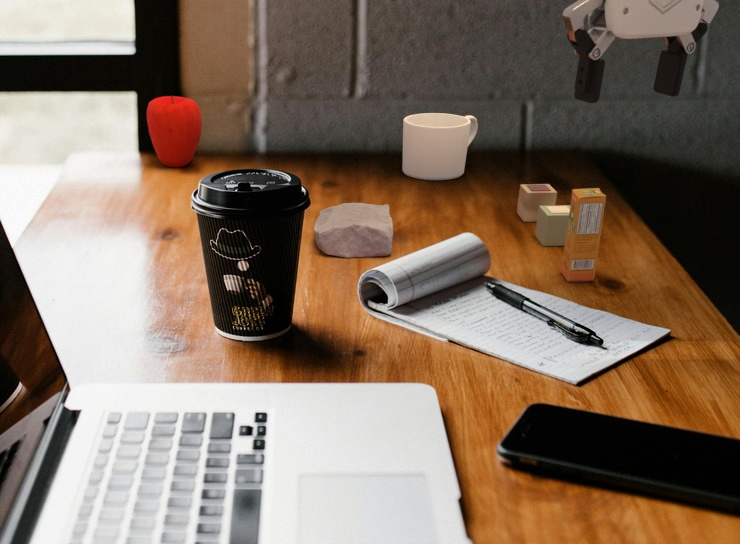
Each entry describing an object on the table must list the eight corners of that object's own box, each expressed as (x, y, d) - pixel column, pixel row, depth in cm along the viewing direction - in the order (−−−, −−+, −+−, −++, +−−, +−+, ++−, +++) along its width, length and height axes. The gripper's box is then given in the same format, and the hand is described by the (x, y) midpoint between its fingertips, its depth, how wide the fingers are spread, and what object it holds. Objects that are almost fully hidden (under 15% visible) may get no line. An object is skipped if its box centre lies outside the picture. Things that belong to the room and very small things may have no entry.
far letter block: (544, 212, 121) (549, 183, 118) (552, 221, 117) (557, 191, 115) (516, 212, 120) (520, 183, 118) (523, 221, 117) (527, 192, 115)
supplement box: (557, 271, 101) (571, 187, 96) (586, 271, 101) (602, 187, 96) (564, 282, 99) (578, 195, 93) (594, 282, 99) (610, 195, 93)
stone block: (319, 271, 107) (399, 255, 105) (312, 233, 104) (393, 217, 103) (318, 241, 117) (391, 227, 116) (311, 207, 115) (386, 192, 113)
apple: (214, 162, 144) (211, 95, 139) (177, 174, 138) (172, 103, 133) (176, 154, 149) (171, 88, 143) (139, 165, 143) (133, 97, 137)
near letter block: (564, 235, 112) (570, 204, 110) (574, 245, 109) (579, 214, 107) (534, 235, 112) (539, 204, 110) (542, 246, 109) (547, 214, 107)
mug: (426, 184, 132) (431, 130, 128) (387, 169, 140) (389, 117, 136) (493, 172, 138) (499, 120, 134) (451, 158, 146) (456, 108, 142)
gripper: (610, -100, 73) (575, 111, 82) (770, -101, 78) (721, 98, 87) (558, -100, 79) (531, 96, 88) (710, -101, 84) (670, 85, 93)
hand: (626, 97), depth 87 cm, fingers open, 9 cm apart
